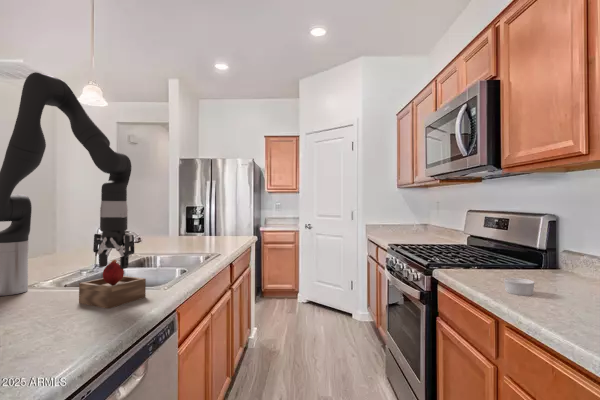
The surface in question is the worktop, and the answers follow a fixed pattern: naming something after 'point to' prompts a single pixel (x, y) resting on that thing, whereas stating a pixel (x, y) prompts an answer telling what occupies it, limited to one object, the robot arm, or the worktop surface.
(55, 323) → the worktop surface
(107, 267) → the onion
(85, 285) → the wooden box
